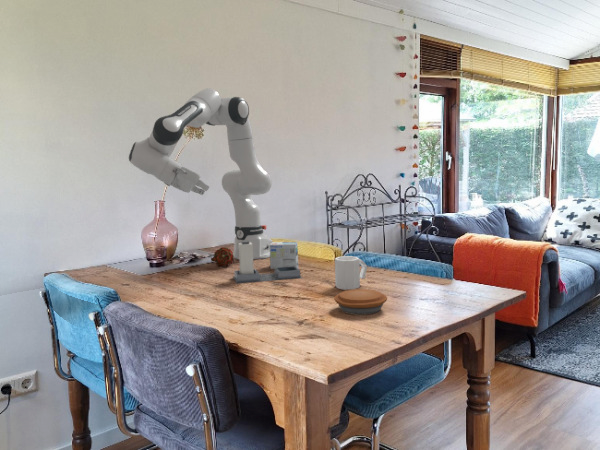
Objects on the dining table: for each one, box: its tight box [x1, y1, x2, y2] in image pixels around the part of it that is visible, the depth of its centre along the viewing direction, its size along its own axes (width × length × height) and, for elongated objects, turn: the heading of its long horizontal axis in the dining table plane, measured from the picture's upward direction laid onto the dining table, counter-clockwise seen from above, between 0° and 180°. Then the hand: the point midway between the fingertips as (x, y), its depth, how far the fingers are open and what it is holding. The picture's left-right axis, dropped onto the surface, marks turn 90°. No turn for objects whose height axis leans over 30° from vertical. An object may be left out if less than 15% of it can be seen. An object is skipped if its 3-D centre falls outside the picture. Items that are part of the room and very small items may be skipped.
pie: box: [333, 288, 388, 315], centre depth 165 cm, size 15×16×5 cm
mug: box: [334, 255, 368, 291], centre depth 194 cm, size 12×9×10 cm
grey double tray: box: [232, 266, 303, 285], centre depth 207 cm, size 24×12×4 cm, turn 103°
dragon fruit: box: [210, 246, 235, 267], centre depth 236 cm, size 8×8×12 cm
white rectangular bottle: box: [238, 241, 255, 275], centre depth 204 cm, size 4×4×14 cm
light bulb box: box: [269, 241, 299, 270], centre depth 224 cm, size 11×7×11 cm, turn 84°
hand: (205, 191), depth 206 cm, fingers open, 8 cm apart
